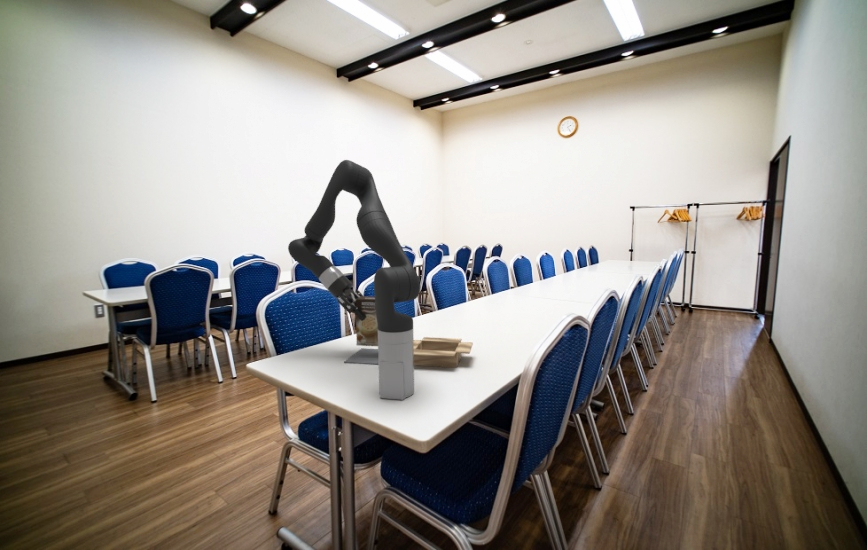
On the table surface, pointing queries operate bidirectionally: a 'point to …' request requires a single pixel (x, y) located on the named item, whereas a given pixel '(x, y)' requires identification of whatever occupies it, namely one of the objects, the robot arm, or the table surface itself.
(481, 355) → the table surface
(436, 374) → the table surface
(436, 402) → the table surface
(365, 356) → the mat
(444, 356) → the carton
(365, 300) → the coffee box
